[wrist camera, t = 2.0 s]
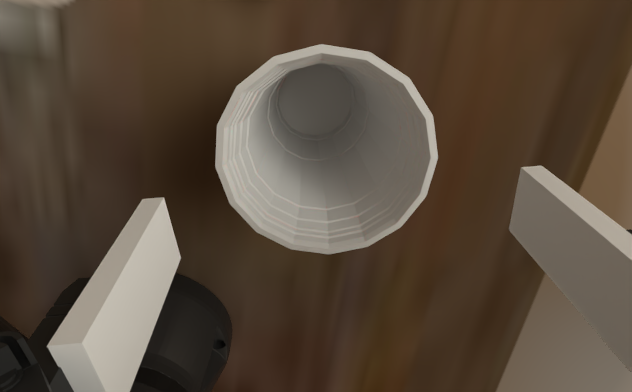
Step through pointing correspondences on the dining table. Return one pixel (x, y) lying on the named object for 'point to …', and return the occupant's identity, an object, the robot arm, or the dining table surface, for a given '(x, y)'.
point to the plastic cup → (326, 149)
